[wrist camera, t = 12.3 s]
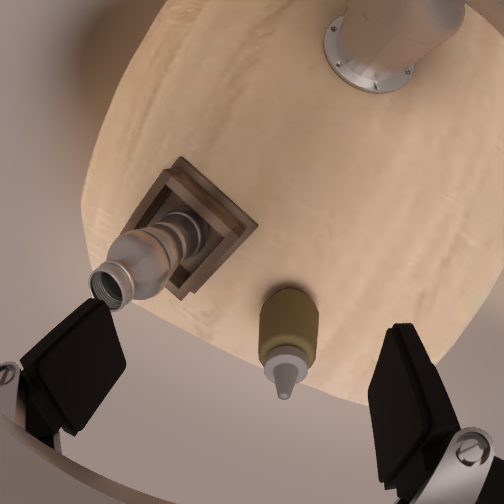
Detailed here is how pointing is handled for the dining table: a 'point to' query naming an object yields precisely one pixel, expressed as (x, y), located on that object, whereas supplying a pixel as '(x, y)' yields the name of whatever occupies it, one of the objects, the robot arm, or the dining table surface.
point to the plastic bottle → (148, 258)
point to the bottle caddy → (208, 207)
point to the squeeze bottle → (288, 338)
